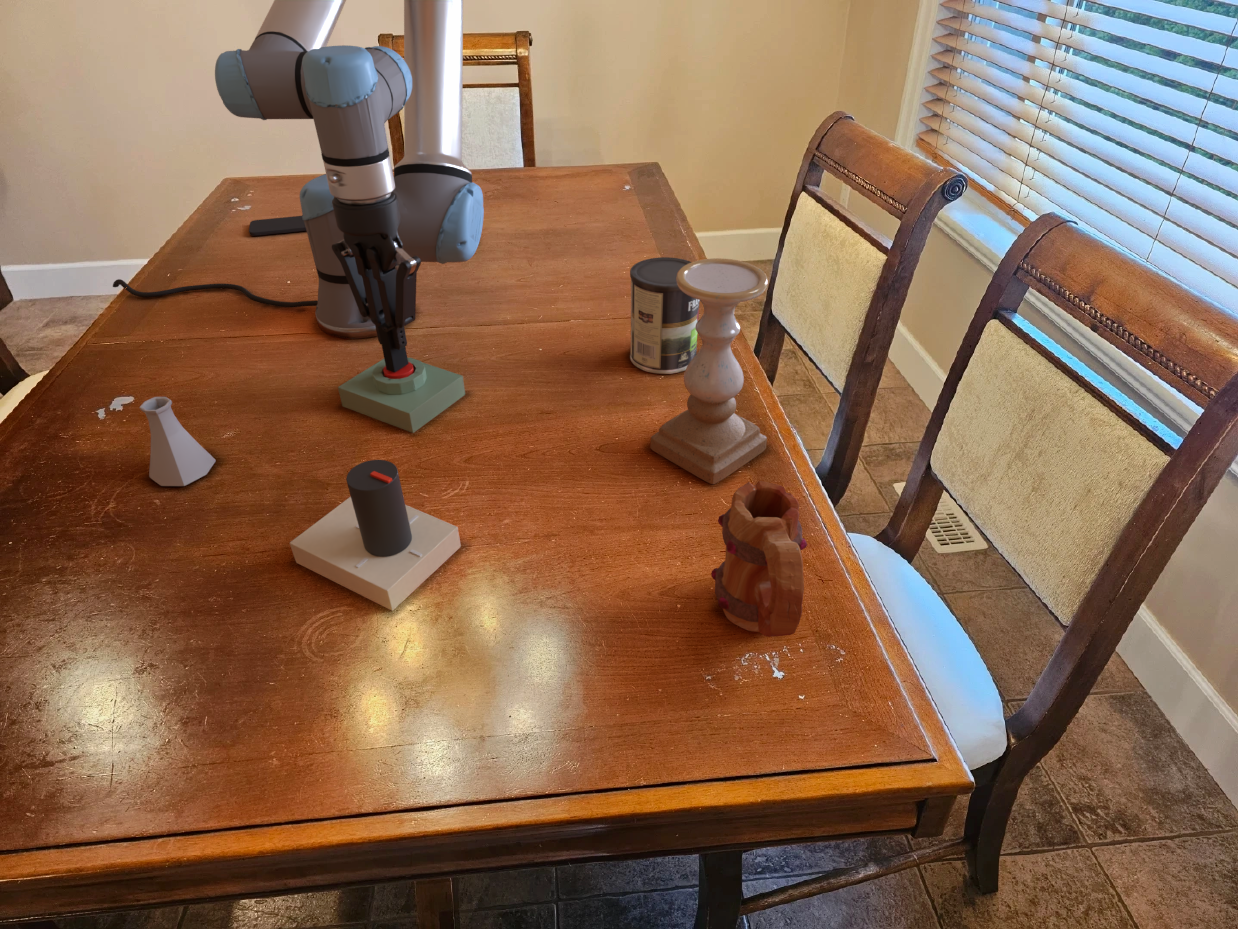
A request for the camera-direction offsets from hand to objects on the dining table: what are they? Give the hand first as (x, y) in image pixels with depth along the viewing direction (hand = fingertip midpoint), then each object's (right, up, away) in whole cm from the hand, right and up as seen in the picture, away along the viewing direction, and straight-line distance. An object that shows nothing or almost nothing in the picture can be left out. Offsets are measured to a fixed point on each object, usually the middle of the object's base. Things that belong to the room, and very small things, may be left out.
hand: (397, 366), depth 109 cm
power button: (0, -2, +1) cm, 2 cm away
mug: (+44, -30, -29) cm, 61 cm away
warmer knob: (+6, -22, -24) cm, 33 cm away
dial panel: (+4, -23, -21) cm, 32 cm away
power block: (0, -4, +4) cm, 6 cm away
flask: (-24, -14, -9) cm, 30 cm away
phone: (-38, +36, +56) cm, 76 cm away
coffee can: (+37, +3, +13) cm, 39 cm away
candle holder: (+42, -11, -6) cm, 44 cm away
